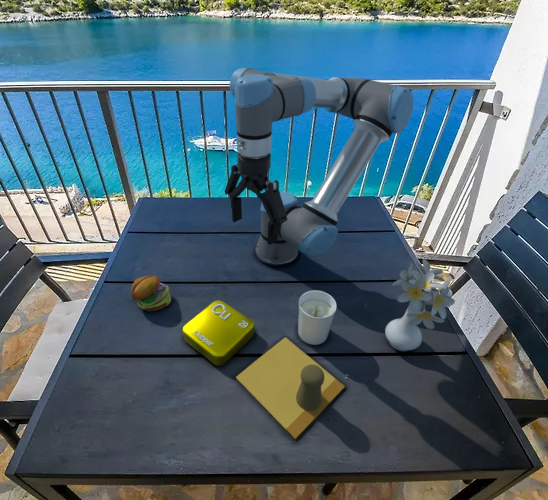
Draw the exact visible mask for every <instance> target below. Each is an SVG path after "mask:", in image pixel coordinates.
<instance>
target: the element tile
mask: <svg viewBox="0 0 548 500" xmlns="http://www.w3.org/2000/svg"><path fill="white" fill-rule="evenodd" d="M181 329H182V337H183V339H184V342H185V343H186V344H188V345H189V346H190V347H191V348H193V349H194V350H196V351H197V352H198V353H199V354H200V355H202V356H203V357H205V359H207V360H208V361H209V362H211V363H212V364H213V365H215V366H218V367H221V366H224V365H225V364H226V363H227V362H228V361H230V359H232V357H233V356H234V355H236V353H238V352H239V351H240V350H241V349H242V347H244V346H245V345H246V344H247V343H248V342H249V341H250V340H251V339H252V338H253V337H254V334H255V322H254V321H253V320H252V318H251V319H250V318H249V317H247V316H246V315H244V314H243V313H241V312H240V311H239V310H237V309H236V308H234V307H232V306H231V305H230V304H228V303H226V302H224V301H223V300H219V299H218V300H214V301H212V302H211V303H210V304H209V305H207V306H205V308H203V310H201V311H200V312H199V313H197V314H196V315H195V316H194V317H193V318H191V319H190V320H188V321H187V322H186V323H185V324H184V325H183V326H182V328H181Z"/></svg>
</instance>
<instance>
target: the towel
mask: <svg viewBox="0 0 548 500" xmlns="http://www.w3.org/2000/svg"><path fill="white" fill-rule="evenodd" d="M307 365H316V366H318V367H320V368H321V369H322V371H323V373H324V382H323V384H322V385H321V399H322V402H321V405H320V406H319V408H318V409H316V410H314V411H307V410H304V409H302V408H301V407H300V406H299V405H298V404H297V401H296V394H297V391H298V389H299V386H300V384H301V371H302V369H303V368H304V367H305V366H307ZM235 379H236V380H237V381H238V382H239V383H240V385H242V386H243V387H244V388H245V389H246V390H247V391H248V392H249V394H250V395H251V396H253V398H254V399H255V400H256V401H257V402H258V403H259V404H260V405H261V406H262V407H263V408H264V409H265V410H266V411H267V412H268V414H270V416H272V418H274V420H276V422H277V423H278V424H279V425H280V426H281V427H282V428H283V429H284V430H285V431H286V432H287V433H288V434H289V435H290V436H291V437H292V438H293V440H297V438H298V437H300V436H301V434H302V433H303V432H304V431H305V430H307V428H308V427H309V426H310V425H311V424H312V423H313V422H314V421H315V420H316V419H317V417H319V416H320V414H321V413H323V411H324V410H325V409H326V408H327V407H328V406H329V405H330V404H331V403H332V402H333V401H334V400H335V399H336V398H337V396H338V395H339V394H340V393H341V392H342V391H343V390H344V389H345V388H346V386H345V385H344V384H343V383H342V382H340V381H339V380H338V379H337V378H335V376H333V375H332V374H331V373H329V372H328V371H327V370H326V369H324V367H322V366H321V365H320V364H319V363H317V362H316V361H315V360H314V359H313V358H311V357H310V356H309V355H307V354H306V353H305V352H304V351H303V350H302V349H300V348H299V347H298V346H297V345H296V344H294V343H293V342H292V341H291V340H290V339H289V338H287V337H284V338H282V339H281V340H280V341H278V342H277V343H276V344H274V345H273V346H272V347H271V348H270V349H269V350H267V351H266V352H264V353H263V354H262V355H261V356H260V357H258V359H256V360H255V361H253V362H252V363H251V364H250V365H248V366H247V367H246V368H245V369H244V370H242V371H241V372H240V373H239V374H238V375H236V376H235Z"/></svg>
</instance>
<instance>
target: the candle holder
mask: <svg viewBox="0 0 548 500" xmlns="http://www.w3.org/2000/svg"><path fill="white" fill-rule="evenodd" d="M337 307H338V306H337V302H336V299H334V297H333V296H332V295H330V294H329V293H327V292H325V291H323V290H317V289H316V290H315V289H313V290H308V291H306V292H304V293H302V294H301V296H299V299H298V314H297V333H298V336H299V338H300V340H302V341H303V342H304V343H306V344H308V345H313V346H316V345H317V346H319V345H321V344H324V342H326V340H327V339H328V336H329V333H330V330H331V328H332V324H333V320H334V317H335V314H336V311H337Z"/></svg>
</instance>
